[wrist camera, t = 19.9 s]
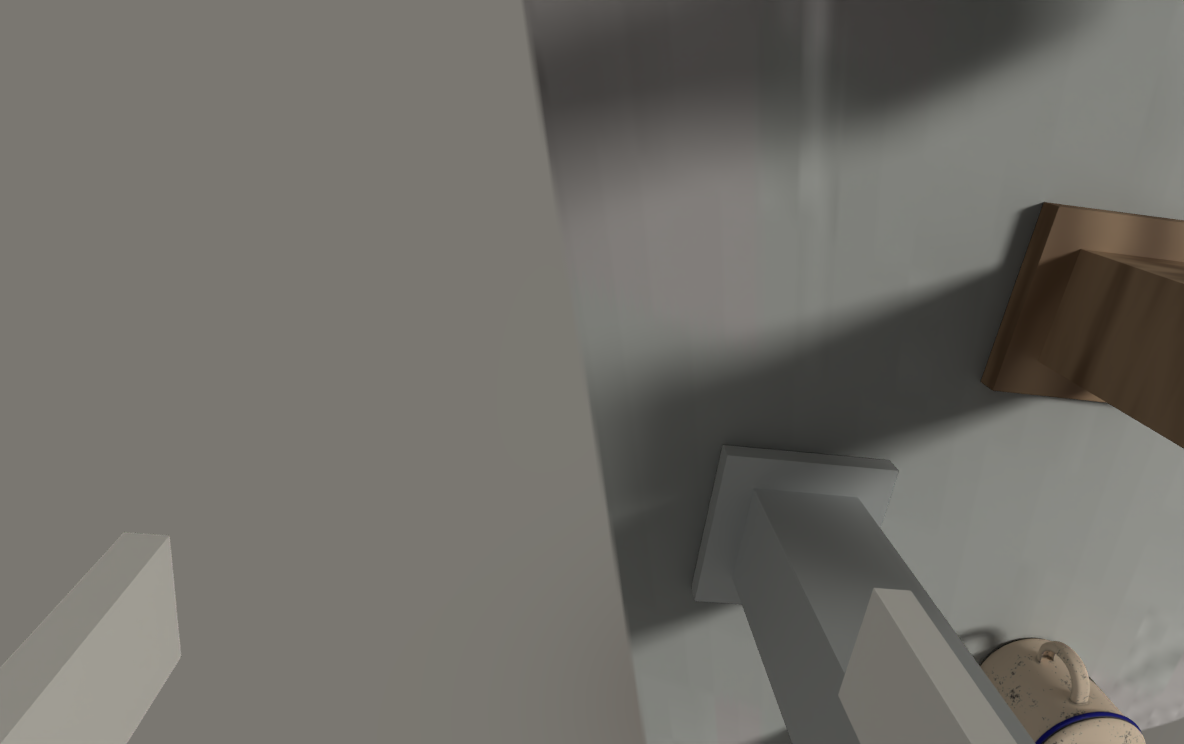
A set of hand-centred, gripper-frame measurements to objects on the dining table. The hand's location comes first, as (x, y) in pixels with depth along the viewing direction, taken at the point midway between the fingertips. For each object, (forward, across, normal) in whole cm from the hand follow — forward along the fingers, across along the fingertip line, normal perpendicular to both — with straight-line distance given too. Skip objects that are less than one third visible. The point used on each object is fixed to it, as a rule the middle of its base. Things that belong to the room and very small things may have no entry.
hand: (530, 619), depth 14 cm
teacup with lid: (+37, +45, -32) cm, 67 cm away
